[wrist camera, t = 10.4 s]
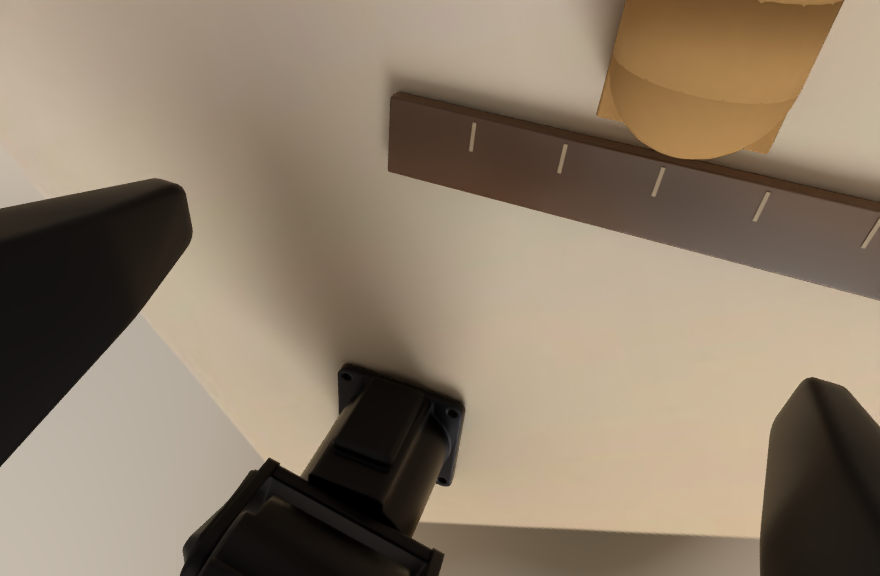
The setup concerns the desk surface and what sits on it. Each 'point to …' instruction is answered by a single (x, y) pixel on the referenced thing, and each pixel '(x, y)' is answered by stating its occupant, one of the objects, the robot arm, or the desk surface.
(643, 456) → the desk surface
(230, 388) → the desk surface
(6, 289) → the robot arm
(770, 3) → the tan arched block
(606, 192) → the walnut ruler
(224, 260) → the desk surface
